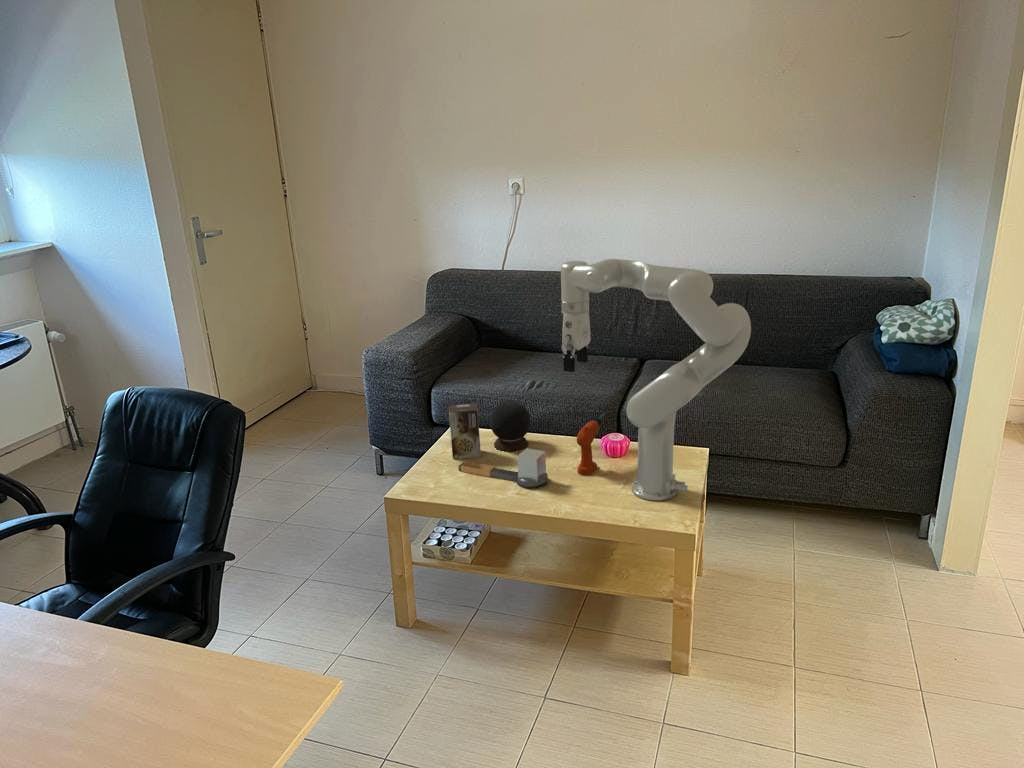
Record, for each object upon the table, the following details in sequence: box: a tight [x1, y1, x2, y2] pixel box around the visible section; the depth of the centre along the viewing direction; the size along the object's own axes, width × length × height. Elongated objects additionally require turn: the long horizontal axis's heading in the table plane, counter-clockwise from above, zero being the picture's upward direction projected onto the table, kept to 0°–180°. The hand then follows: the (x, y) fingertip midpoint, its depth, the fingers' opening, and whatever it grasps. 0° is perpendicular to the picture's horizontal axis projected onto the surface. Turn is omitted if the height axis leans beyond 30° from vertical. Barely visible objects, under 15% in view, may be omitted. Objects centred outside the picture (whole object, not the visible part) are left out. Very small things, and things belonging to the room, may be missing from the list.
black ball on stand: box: [489, 400, 532, 453], centre depth 236 cm, size 13×13×15 cm
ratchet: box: [458, 461, 549, 490], centre depth 215 cm, size 28×9×6 cm, turn 63°
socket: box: [517, 447, 547, 482], centre depth 210 cm, size 6×6×7 cm
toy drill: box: [576, 412, 607, 476], centre depth 219 cm, size 5×19×15 cm, turn 150°
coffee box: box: [448, 403, 482, 460], centre depth 230 cm, size 9×6×16 cm
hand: (575, 366), depth 205 cm, fingers open, 9 cm apart
